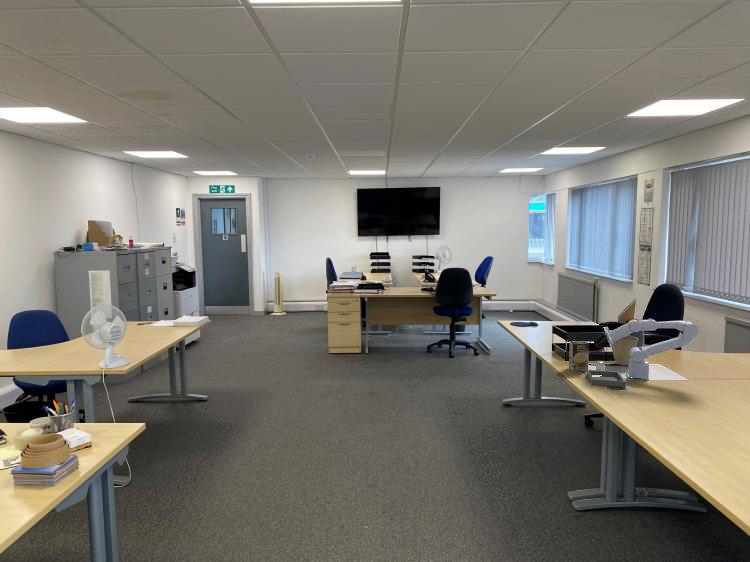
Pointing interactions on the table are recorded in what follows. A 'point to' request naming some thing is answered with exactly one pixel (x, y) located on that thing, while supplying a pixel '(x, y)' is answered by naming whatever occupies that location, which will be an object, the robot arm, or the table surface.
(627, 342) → the plant pot
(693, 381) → the table surface
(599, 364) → the cylinder
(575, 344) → the coffee box
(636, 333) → the canister
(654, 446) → the table surface
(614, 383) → the tray
